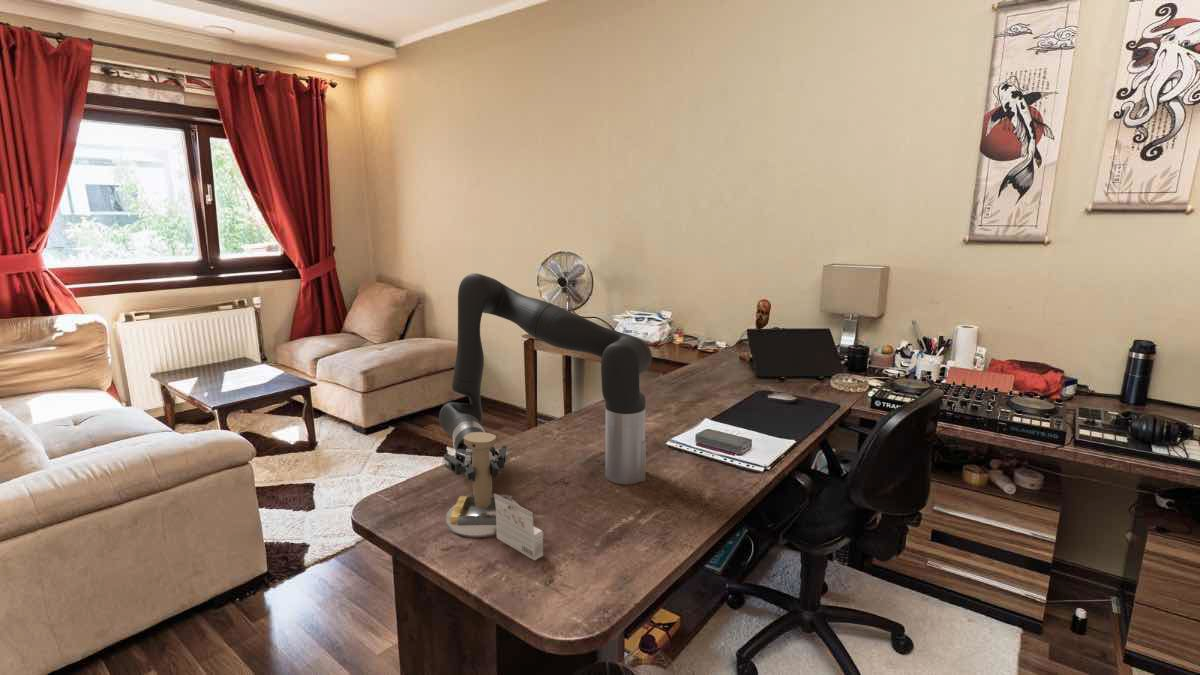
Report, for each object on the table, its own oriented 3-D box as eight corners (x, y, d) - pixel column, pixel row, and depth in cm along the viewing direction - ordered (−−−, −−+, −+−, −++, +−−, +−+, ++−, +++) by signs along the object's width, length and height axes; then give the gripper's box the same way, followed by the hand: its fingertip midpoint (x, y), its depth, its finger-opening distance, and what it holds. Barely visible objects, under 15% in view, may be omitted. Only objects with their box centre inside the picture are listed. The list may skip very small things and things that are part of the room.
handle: (475, 497, 122) (471, 430, 118) (502, 502, 120) (500, 434, 116) (463, 508, 117) (459, 439, 114) (491, 513, 115) (488, 443, 112)
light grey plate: (524, 498, 126) (524, 488, 126) (515, 537, 112) (515, 525, 111) (456, 499, 126) (455, 488, 126) (438, 537, 111) (437, 526, 111)
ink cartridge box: (505, 533, 113) (503, 488, 111) (544, 556, 106) (543, 507, 104) (495, 539, 111) (493, 492, 109) (534, 562, 104) (532, 513, 102)
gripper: (437, 430, 126) (446, 463, 111) (501, 422, 131) (518, 452, 115) (439, 462, 128) (448, 499, 112) (502, 453, 133) (519, 486, 117)
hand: (483, 475), depth 114 cm, fingers closed on handle, 3 cm apart
